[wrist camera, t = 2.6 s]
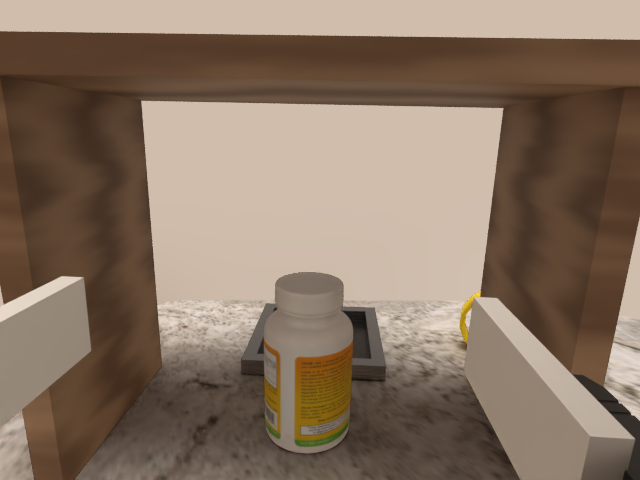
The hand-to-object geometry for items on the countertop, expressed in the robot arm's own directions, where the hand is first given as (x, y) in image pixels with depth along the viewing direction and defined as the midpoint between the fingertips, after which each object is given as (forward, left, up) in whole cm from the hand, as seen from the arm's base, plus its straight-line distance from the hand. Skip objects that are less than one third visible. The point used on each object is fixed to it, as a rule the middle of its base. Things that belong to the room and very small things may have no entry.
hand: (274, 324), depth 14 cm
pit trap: (+10, -18, -12) cm, 24 cm away
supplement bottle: (+5, -9, -12) cm, 16 cm away
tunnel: (+5, -9, -12) cm, 16 cm away
